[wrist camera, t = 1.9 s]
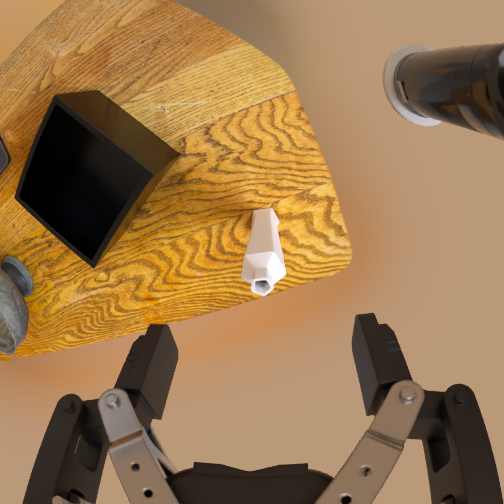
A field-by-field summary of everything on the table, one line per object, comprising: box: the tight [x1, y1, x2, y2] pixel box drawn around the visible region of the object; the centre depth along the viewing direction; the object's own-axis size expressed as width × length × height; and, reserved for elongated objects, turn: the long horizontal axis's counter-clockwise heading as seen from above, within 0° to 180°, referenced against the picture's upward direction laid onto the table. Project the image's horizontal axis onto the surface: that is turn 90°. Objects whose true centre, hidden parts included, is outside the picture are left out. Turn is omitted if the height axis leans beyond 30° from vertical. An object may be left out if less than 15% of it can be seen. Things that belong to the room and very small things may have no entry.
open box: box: [14, 90, 180, 268], centre depth 33 cm, size 16×16×10 cm
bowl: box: [0, 256, 33, 354], centre depth 43 cm, size 20×19×15 cm
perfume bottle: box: [241, 208, 286, 296], centre depth 34 cm, size 5×4×15 cm
